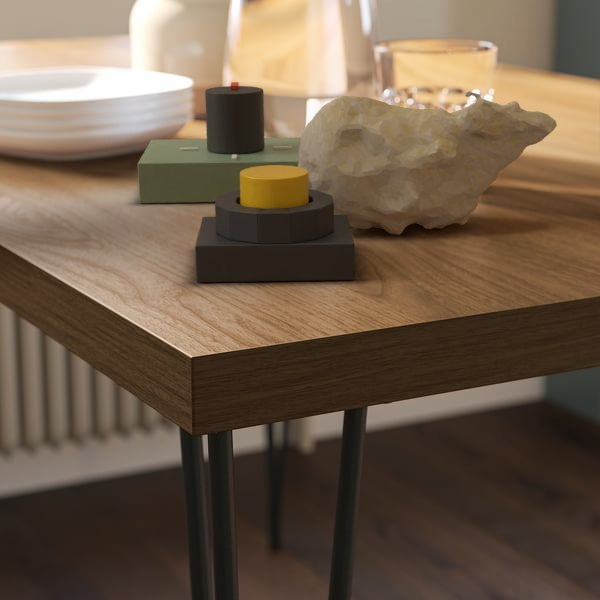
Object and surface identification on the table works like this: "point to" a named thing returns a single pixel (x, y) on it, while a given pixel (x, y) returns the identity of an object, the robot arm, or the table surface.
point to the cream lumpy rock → (413, 158)
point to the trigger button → (274, 186)
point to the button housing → (275, 242)
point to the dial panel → (202, 168)
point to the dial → (235, 119)
